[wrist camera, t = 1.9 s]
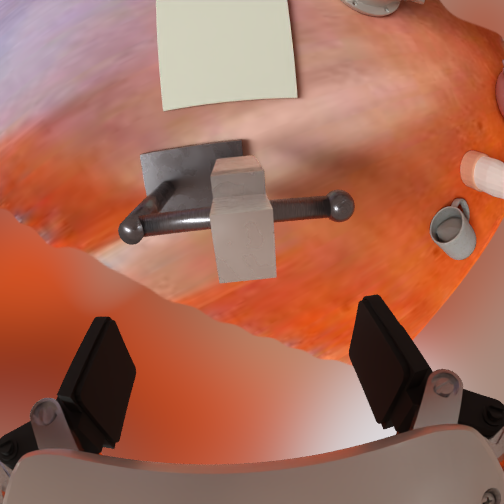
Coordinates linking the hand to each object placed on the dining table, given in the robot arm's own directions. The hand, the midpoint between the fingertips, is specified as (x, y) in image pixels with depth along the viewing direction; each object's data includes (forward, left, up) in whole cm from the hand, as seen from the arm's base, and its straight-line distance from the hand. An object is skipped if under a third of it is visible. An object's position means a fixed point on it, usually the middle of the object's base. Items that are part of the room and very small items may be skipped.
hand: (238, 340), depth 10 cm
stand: (+1, +1, -32) cm, 32 cm away
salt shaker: (-45, 0, -33) cm, 55 cm away
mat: (-1, -19, -32) cm, 38 cm away
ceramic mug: (-39, +10, -33) cm, 52 cm away
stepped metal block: (-1, +1, -23) cm, 23 cm away
